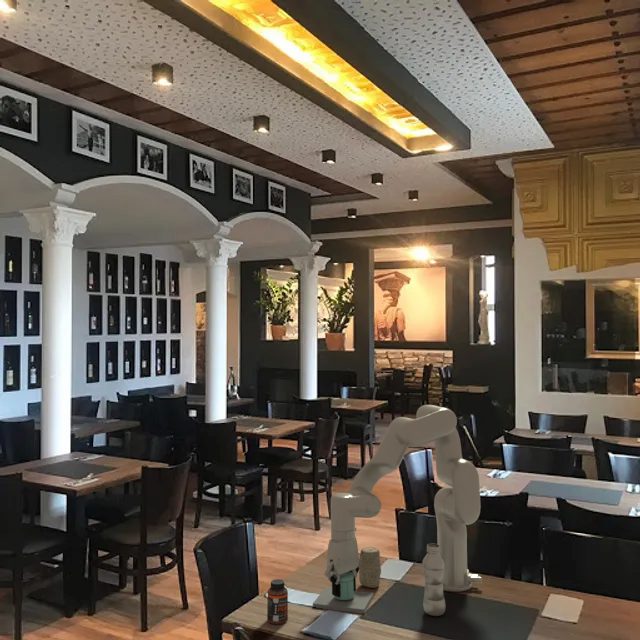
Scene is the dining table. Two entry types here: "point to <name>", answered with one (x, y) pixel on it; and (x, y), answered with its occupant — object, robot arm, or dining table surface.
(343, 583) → the cap
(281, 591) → the supplement bottle
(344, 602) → the grey square board
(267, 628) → the dining table surface
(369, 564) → the carving
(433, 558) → the plastic bottle
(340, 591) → the robot arm
